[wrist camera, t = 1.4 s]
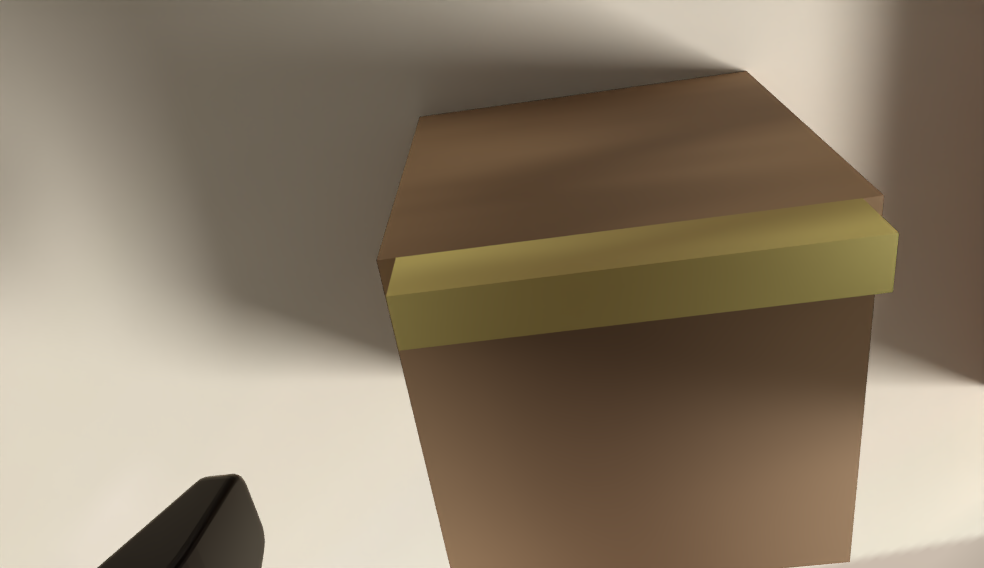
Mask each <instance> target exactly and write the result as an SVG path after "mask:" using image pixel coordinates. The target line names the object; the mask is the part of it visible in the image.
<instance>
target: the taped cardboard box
mask: <svg viewBox="0 0 984 568" xmlns="http://www.w3.org/2000/svg"><path fill="white" fill-rule="evenodd" d="M883 201H884V195H883V194H882V193H881V192H880V191H879V190H877V189H876V188H875V187H874V186H873V185H872V184H871V183H870V182H869V181H867V180H866V179H865V178H864V177H863V176H862V175H861V174H860V173H859V172H858V171H856V170H855V169H854V168H853V167H852V166H851V165H850V164H849V163H848V162H846V161H845V160H844V159H843V158H842V157H841V156H840V155H839V154H838V153H836V152H835V151H834V150H833V149H832V148H831V147H830V146H829V145H828V144H827V143H825V142H824V141H823V140H822V139H821V138H820V137H819V136H818V135H817V134H815V133H814V132H813V131H812V130H811V129H810V128H809V127H808V126H807V125H806V124H804V123H803V122H802V121H801V120H800V119H799V118H798V117H797V116H796V115H794V114H793V113H792V112H791V111H790V110H789V109H788V108H787V107H786V106H785V105H783V104H782V103H781V102H780V101H779V100H778V99H777V98H776V97H775V96H773V95H772V94H771V93H770V92H769V91H768V90H767V89H766V88H765V87H763V86H762V85H761V84H760V83H759V82H758V81H757V80H756V79H755V78H754V77H752V76H751V75H750V74H749V73H748V72H747V71H743V72H736V73H729V74H722V75H715V76H707V77H700V78H693V79H686V80H679V81H672V82H665V83H658V84H651V85H643V86H636V87H629V88H622V89H615V90H608V91H601V92H594V93H586V94H579V95H572V96H565V97H558V98H551V99H544V100H537V101H530V102H522V103H515V104H508V105H501V106H494V107H487V108H480V109H473V110H466V111H458V112H451V113H444V114H437V115H430V116H423V117H420V118H419V121H418V124H417V128H416V131H415V134H414V138H413V141H412V144H411V148H410V151H409V154H408V157H407V161H406V164H405V167H404V171H403V174H402V177H401V181H400V184H399V187H398V191H397V194H396V197H395V201H394V204H393V207H392V210H391V214H390V217H389V220H388V224H387V227H386V230H385V234H384V237H383V240H382V244H381V247H380V250H379V254H378V257H377V264H378V269H379V273H380V277H381V281H382V285H383V289H384V294H385V298H386V302H387V306H388V310H389V314H390V318H391V323H392V327H393V331H394V335H395V339H396V343H397V348H398V352H399V356H400V360H401V364H402V368H403V373H404V377H405V381H406V385H407V389H408V393H409V398H410V402H411V406H412V410H413V414H414V418H415V422H416V427H417V431H418V435H419V439H420V443H421V447H422V452H423V456H424V460H425V464H426V468H427V472H428V477H429V481H430V485H431V489H432V493H433V497H434V502H435V506H436V510H437V514H438V518H439V522H440V526H441V531H442V535H443V539H444V543H445V547H446V551H447V556H448V560H449V564H450V568H789V567H800V566H811V565H822V564H832V563H843V562H850V553H851V542H852V532H853V521H854V510H855V500H856V489H857V478H858V468H859V457H860V446H861V436H862V425H863V414H864V404H865V393H866V382H867V372H868V361H869V350H870V340H871V329H872V318H873V308H874V297H875V294H882V293H891V292H893V285H894V276H895V266H896V257H897V247H898V238H899V233H898V232H897V231H896V230H895V229H894V228H893V227H892V226H891V225H890V224H889V223H888V222H887V221H886V220H885V219H884V218H883V217H882V212H883Z"/></svg>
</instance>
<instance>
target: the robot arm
mask: <svg viewBox="0 0 984 568" xmlns="http://www.w3.org/2000/svg"><path fill="white" fill-rule="evenodd" d="M264 546H265V539H264V531H263V527H262V524H261V521H260V519H259V516H258V513H257V511H256V508H255V506H254V503H253V500H252V498H251V495H250V493H249V490H248V488H247V485H246V483H245V481H244V480H243V478H242V477H241V476H239V475H236V474H227V475H217V476H208V477H204V478H202V479H200V480H199V481H197V482H196V483H195V484H194V485H192V486H191V487H190V488H189V489H188V490H187V491H186V492H184V493H183V494H182V495H181V496H180V497H179V498H177V499H176V500H175V501H174V502H173V503H172V504H171V505H169V506H168V507H167V508H166V509H165V510H164V511H162V512H161V513H160V514H159V515H158V516H157V517H155V518H154V519H153V520H152V521H151V522H150V523H149V524H147V525H146V526H145V527H144V528H143V529H142V530H140V531H139V532H138V533H137V534H136V535H135V536H134V537H132V538H131V539H130V540H129V541H128V542H127V543H125V544H124V545H123V546H122V547H121V548H120V549H118V550H117V551H116V552H115V553H114V554H113V555H112V556H110V557H109V558H108V559H107V560H106V561H105V562H103V563H102V564H101V565H100V566H99V567H98V568H261V567H262V561H263V554H264Z"/></svg>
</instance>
